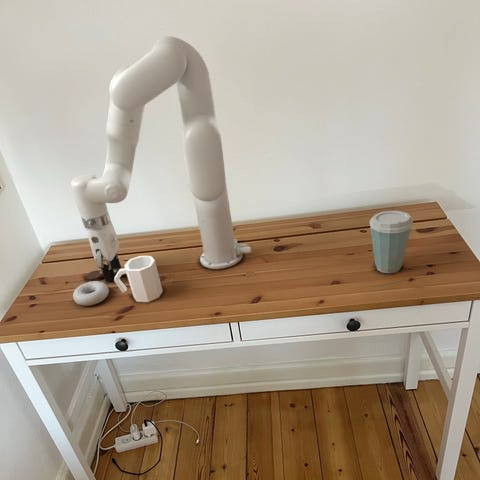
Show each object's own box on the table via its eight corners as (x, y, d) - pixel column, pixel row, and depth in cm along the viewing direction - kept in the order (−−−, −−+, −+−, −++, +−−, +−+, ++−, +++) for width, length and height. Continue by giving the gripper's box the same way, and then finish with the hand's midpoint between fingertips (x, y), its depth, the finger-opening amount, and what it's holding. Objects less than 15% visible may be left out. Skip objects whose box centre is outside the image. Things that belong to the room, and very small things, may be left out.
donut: (96, 310, 145) (117, 290, 152) (92, 300, 143) (113, 280, 150) (67, 305, 149) (89, 286, 156) (63, 295, 147) (86, 276, 154)
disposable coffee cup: (362, 263, 147) (362, 212, 138) (398, 254, 148) (400, 203, 139) (379, 281, 138) (380, 228, 129) (418, 271, 139) (421, 218, 131)
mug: (162, 283, 152) (155, 253, 147) (162, 299, 145) (154, 268, 139) (121, 291, 152) (111, 260, 146) (118, 307, 145) (108, 276, 139)
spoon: (142, 270, 160) (140, 263, 159) (138, 278, 157) (136, 271, 155) (90, 274, 163) (88, 267, 161) (85, 282, 159) (83, 275, 158)
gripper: (100, 232, 142) (118, 290, 152) (117, 205, 156) (132, 260, 166) (73, 234, 143) (93, 291, 153) (92, 208, 157) (109, 262, 167)
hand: (113, 275), depth 159 cm, fingers open, 5 cm apart
